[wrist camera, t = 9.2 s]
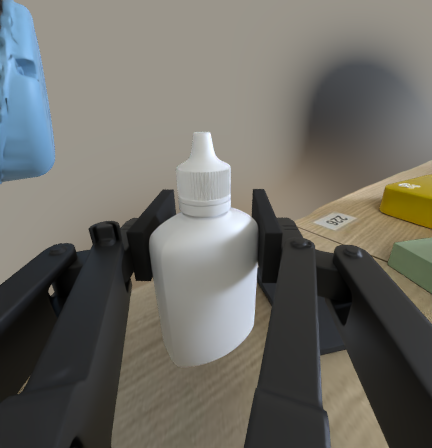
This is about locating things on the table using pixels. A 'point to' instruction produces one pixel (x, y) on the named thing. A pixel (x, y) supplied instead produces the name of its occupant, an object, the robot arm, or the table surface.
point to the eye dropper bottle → (204, 263)
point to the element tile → (409, 200)
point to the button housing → (414, 261)
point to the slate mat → (327, 327)
